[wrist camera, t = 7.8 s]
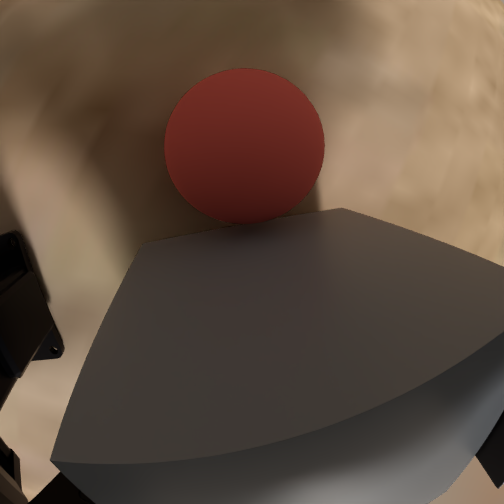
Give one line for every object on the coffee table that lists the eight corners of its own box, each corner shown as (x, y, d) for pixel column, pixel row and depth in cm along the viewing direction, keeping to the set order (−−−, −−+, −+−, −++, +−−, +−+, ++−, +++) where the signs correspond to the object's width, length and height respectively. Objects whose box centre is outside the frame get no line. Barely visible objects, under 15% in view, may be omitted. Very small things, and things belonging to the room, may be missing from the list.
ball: (174, 252, 7) (150, 49, 5) (177, 226, 11) (161, 104, 10) (365, 219, 8) (338, 46, 6) (297, 207, 12) (282, 93, 11)
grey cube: (190, 400, 12) (216, 575, 4) (142, 243, 10) (49, 460, 2) (343, 361, 14) (445, 491, 5) (342, 207, 11) (551, 289, 3)
